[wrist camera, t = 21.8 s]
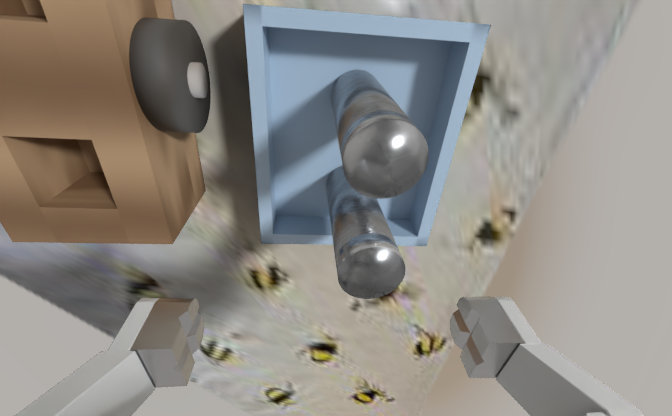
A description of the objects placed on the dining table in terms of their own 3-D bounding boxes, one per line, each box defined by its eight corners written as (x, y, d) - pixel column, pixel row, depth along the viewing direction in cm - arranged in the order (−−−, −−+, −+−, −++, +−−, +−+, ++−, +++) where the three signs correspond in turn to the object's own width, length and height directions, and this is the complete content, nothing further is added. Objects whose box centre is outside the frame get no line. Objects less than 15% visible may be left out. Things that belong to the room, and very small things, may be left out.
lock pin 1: (335, 65, 17) (351, 112, 10) (387, 74, 17) (441, 126, 10) (327, 117, 19) (336, 194, 11) (374, 125, 19) (413, 202, 12)
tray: (253, 5, 16) (243, 4, 13) (464, 23, 17) (490, 24, 15) (267, 218, 23) (261, 243, 21) (414, 221, 24) (426, 245, 22)
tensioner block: (-59, -158, 12) (-314, -277, 7) (194, -128, 13) (122, -215, 8) (85, 186, 21) (12, 241, 16) (234, 191, 22) (210, 244, 17)
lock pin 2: (326, 164, 20) (340, 247, 12) (371, 165, 21) (411, 246, 13) (324, 203, 22) (336, 299, 14) (366, 204, 22) (399, 298, 14)
